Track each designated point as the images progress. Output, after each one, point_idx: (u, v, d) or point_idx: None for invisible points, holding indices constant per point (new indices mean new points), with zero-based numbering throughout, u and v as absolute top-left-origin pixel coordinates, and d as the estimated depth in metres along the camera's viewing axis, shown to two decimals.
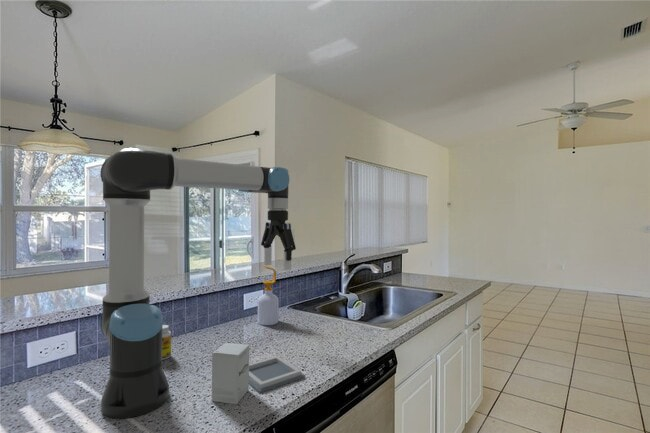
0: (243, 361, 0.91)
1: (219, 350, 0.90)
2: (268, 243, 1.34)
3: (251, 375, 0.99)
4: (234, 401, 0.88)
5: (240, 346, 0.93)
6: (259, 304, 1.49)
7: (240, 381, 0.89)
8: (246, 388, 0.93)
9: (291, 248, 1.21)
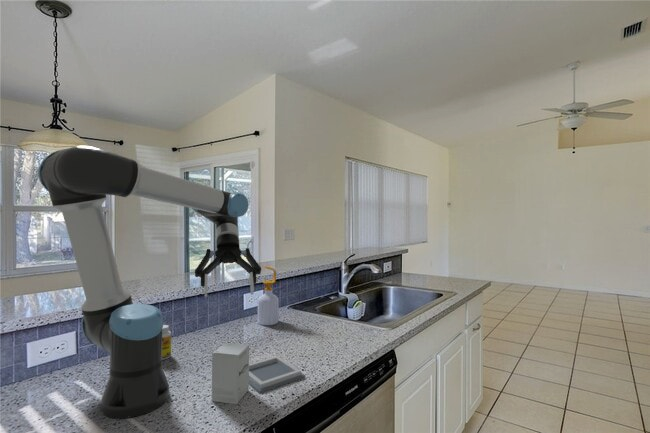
0: (243, 361, 0.91)
1: (219, 350, 0.90)
2: (209, 270, 1.09)
3: (251, 375, 0.99)
4: (234, 401, 0.88)
5: (240, 346, 0.93)
6: (259, 304, 1.49)
7: (240, 381, 0.89)
8: (246, 388, 0.93)
9: (260, 269, 1.14)
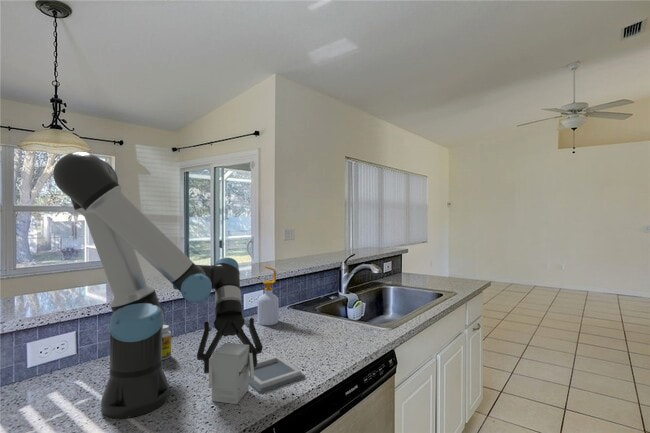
0: (243, 361, 0.91)
1: (219, 350, 0.90)
2: (212, 351, 0.93)
3: None
4: (234, 401, 0.88)
5: (240, 346, 0.93)
6: (259, 304, 1.49)
7: (240, 380, 0.89)
8: (246, 388, 0.93)
9: None
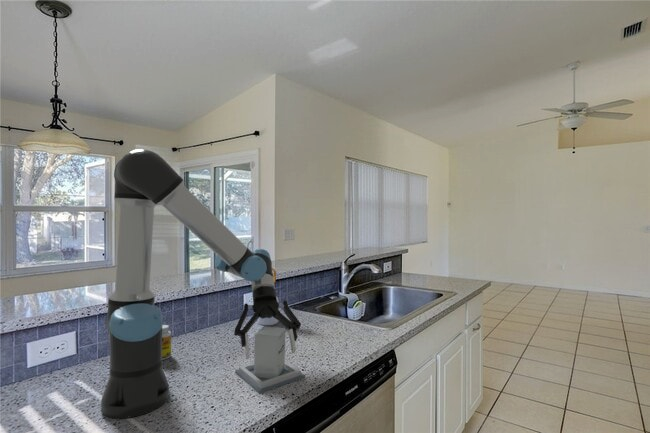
0: (281, 342, 1.03)
1: (260, 332, 1.02)
2: (248, 328, 1.05)
3: (251, 375, 0.99)
4: (274, 377, 1.00)
5: (278, 329, 1.05)
6: None
7: (279, 359, 1.01)
8: (283, 366, 1.05)
9: None
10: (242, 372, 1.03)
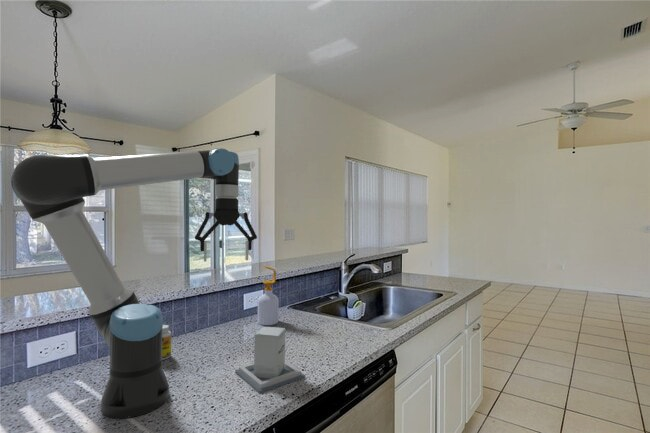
0: (281, 342, 1.03)
1: (260, 332, 1.02)
2: None
3: (251, 375, 0.99)
4: (274, 377, 1.00)
5: (278, 329, 1.05)
6: (259, 304, 1.49)
7: (279, 359, 1.01)
8: (283, 366, 1.05)
9: (256, 237, 1.21)
10: (242, 372, 1.03)
